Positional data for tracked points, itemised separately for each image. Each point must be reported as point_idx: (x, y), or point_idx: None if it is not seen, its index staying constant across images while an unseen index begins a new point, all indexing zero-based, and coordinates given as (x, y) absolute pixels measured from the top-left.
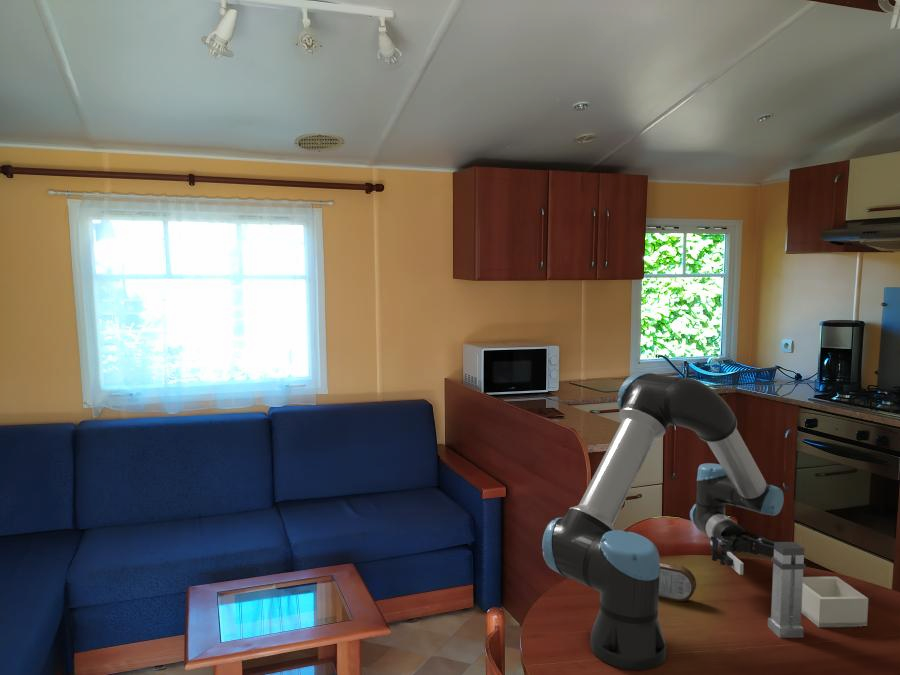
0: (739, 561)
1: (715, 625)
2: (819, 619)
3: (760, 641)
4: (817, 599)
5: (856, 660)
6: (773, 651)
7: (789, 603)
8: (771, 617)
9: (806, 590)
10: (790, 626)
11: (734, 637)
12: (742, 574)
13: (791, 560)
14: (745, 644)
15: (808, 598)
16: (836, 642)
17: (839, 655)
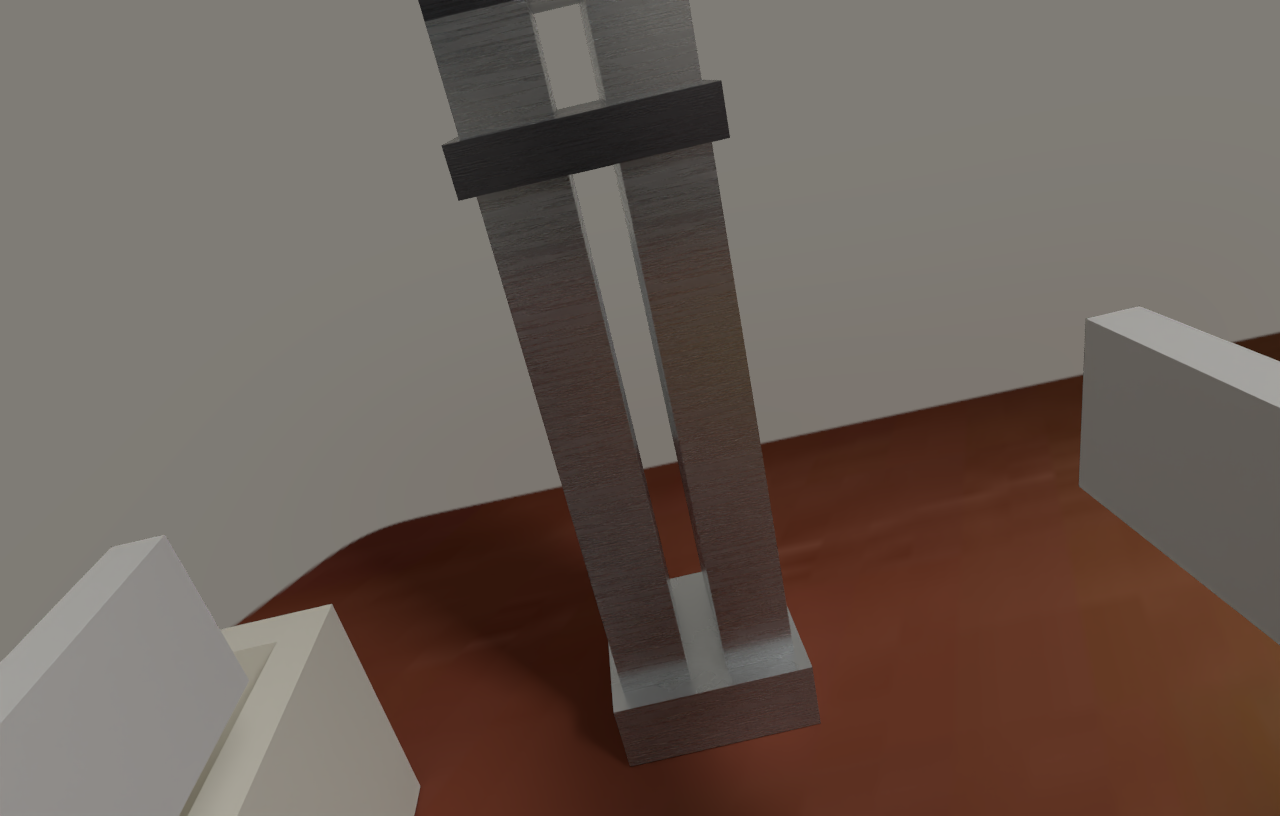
0: (1172, 332)
1: (1268, 645)
2: (396, 738)
3: (906, 551)
4: (328, 648)
5: (477, 532)
6: (847, 497)
7: (647, 491)
8: (789, 637)
9: (261, 802)
10: (682, 595)
11: (1076, 548)
12: (1088, 478)
13: (553, 103)
14: (999, 509)
15: (308, 810)
16: (449, 639)
17: (526, 544)
